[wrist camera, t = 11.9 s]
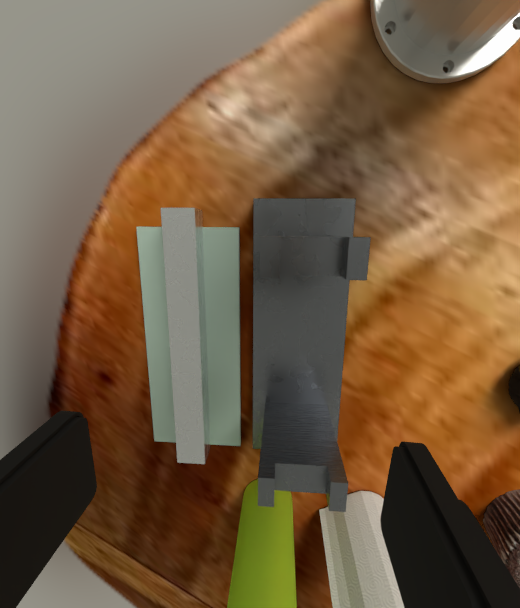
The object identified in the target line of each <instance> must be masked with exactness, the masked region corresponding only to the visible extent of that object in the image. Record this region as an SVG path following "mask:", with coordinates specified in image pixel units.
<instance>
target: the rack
mask: <svg viewBox="0 0 520 608" xmlns="http://www.w3.org/2000/svg"><path fill="white" fill-rule="evenodd" d="M355 202H356V199H254V230H253V449H261V452H260V463H259V473H258V506H264V507H274V490H279V491H294V492H310V493H325V494H326V497H327V503H328V509H329V511H337V512H346V502H347V491H348V481H347V477H346V473H345V470H344V466H343V462H342V459H341V455H340V451H339V447H338V444H337V434H338V421H339V409H340V396H341V383H342V370H343V357H344V344H345V331H346V318H347V305H348V293H349V280H367V271H368V260H369V249H370V238H371V237H353V228H354V215H355Z"/></svg>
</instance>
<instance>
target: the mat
mask: <svg viewBox="0 0 520 608" xmlns="http://www.w3.org/2000/svg"><path fill="white" fill-rule="evenodd" d="M136 228H137V240H138V252H139V264H140V276H141V288H142V300H143V312H144V324H145V336H146V348H147V360H148V372H149V383H150V395H151V407H152V419H153V431H154V441H158V442H176V434H175V419H174V403H173V388H172V373H171V357H170V342H169V327H168V311H167V296H166V281H165V265H164V250H163V235H162V227H136ZM203 249H204V278H205V306H206V335H207V363H208V392H209V420H210V444H212V445H230V446H240V445H241V370H240V230H239V227H203Z"/></svg>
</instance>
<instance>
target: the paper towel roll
mask: <svg viewBox="0 0 520 608" xmlns="http://www.w3.org/2000/svg"><path fill="white" fill-rule="evenodd" d="M383 501H384V499H383V498H382V497H381V496H380V495H378V494H376V493H373V492H371V491H358V492H355V493H351V494H348V495H347V502H346V512H337V511H329V509H328V507H326V508H324V509H319V512H320V519H321V526H322V533H323V540H324V548H325V555H326V562H327V569H328V576H329V584H330V591H331V598H332V605H333V608H404V604H403V601H402V598H401V594H400V591H399V588H398V584H397V581H396V578H395V574H394V571H393V568H392V564H391V561H390V558H389V554H388V551H387V548H386V544H385V541H384V538H383V534H382V530H381V521H380V519H381V512H382V507H383Z"/></svg>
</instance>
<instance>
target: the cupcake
mask: <svg viewBox="0 0 520 608" xmlns="http://www.w3.org/2000/svg"><path fill="white" fill-rule="evenodd" d="M483 523H484V525H485V527H486V531H487V533H488V535H489V537H490V539H491V541H492V543H493V545H494V547H495V549H496V551H497V553H498V555H499V556H500V558H501V559H502V561H503V563H504V564H505V566H506V567H507V569H508V571H509V572H510V574H511V575H512V577H513V578H514V580H515V582H516V583H517V585H518V586H519V588H520V490H514V491H510V492H507V493H505V494H504V495H500V496H499V497H497V498H495V499H494V500H493V501H492V503H490V504H489V505H488V506H487V510H486V512H485V513H484V519H483Z"/></svg>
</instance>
